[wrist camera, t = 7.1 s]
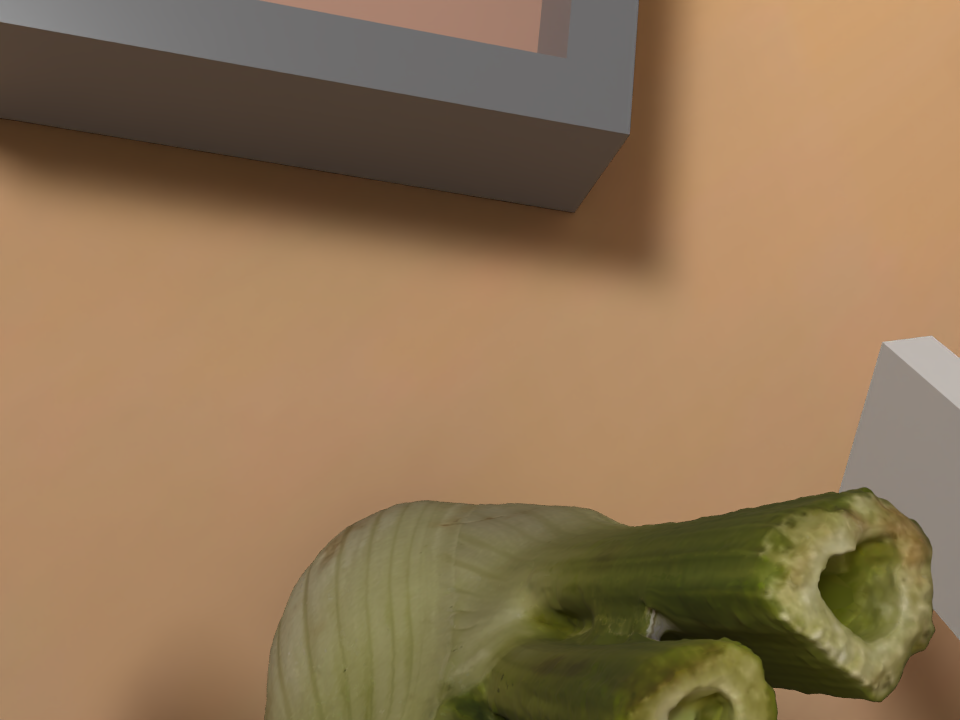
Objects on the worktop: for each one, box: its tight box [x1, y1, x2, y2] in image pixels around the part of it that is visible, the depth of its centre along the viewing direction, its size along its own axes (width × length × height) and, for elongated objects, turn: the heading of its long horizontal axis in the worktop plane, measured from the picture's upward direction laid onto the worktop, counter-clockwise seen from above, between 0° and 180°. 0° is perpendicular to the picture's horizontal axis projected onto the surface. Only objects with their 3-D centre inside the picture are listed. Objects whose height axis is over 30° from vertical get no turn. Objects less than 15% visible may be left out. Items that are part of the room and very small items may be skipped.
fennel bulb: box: [264, 487, 935, 720], centre depth 11 cm, size 6×5×12 cm
